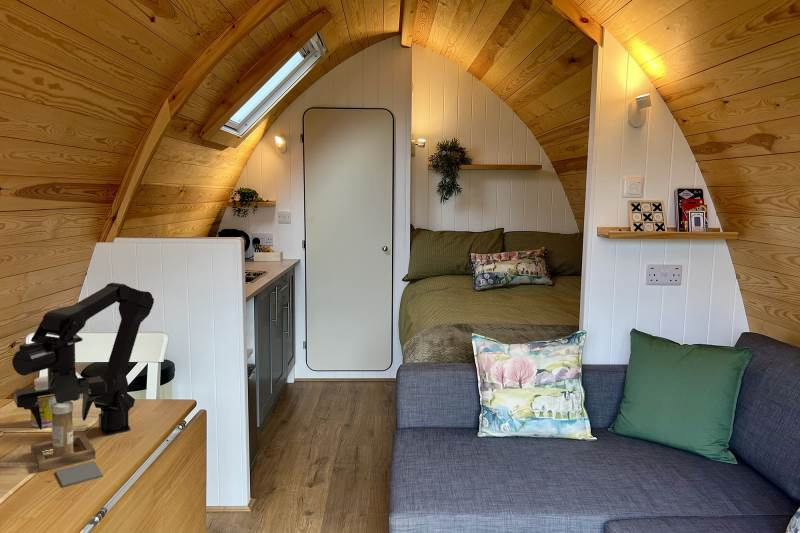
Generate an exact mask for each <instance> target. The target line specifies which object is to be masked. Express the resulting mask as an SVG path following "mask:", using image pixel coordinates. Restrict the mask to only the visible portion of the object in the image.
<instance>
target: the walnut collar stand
mask: <svg viewBox="0 0 800 533" xmlns="http://www.w3.org/2000/svg"><path fill="white" fill-rule="evenodd" d="M75 446H79V447H80V449H81V450H79V451H76V452H74V453H71V454H67V455H63V456H59V457H55V458H53V457H50V458H47V459H46V457H45V455H44V453H42V451H45V450H50V449H53V441H52V440H48V441H43V442H39V443H34V444H31V445H30V454H31V453H32V454H31V456H32V455H33V456H32V458H33V457H34V458H33V460H34V459H35V460H34V462H36V463H35V465H36V464H37V465H36V467H37V470H38V472H39V473H40V472H45V471H50V470H53V469H57V468H61V467H66V466H70V465H73V464H77V463H82V462H85V461H90V460H94V459H96V449H95V448H94V446H93V445H92V443H91V442H90V441H89V438H88V437H87V436H86V434H85V433H80V434H76V435H73V447H75Z"/></svg>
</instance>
